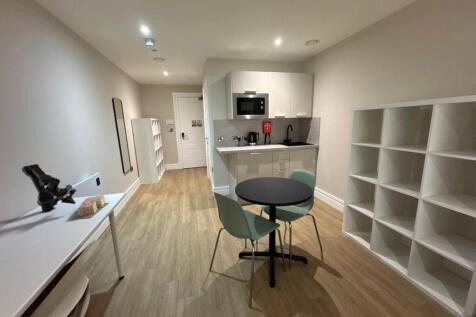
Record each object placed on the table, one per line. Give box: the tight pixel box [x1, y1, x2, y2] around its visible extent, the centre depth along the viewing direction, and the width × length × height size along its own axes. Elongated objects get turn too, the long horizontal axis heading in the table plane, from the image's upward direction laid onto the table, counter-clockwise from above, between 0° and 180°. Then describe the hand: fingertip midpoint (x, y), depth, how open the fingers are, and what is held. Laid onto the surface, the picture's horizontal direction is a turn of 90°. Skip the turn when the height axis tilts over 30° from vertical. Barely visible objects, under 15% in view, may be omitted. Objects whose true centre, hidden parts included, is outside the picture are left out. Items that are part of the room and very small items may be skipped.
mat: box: [71, 202, 110, 221], centre depth 152 cm, size 13×24×1 cm, turn 5°
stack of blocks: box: [77, 194, 106, 216], centre depth 154 cm, size 21×6×12 cm
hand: (75, 203), depth 150 cm, fingers closed
